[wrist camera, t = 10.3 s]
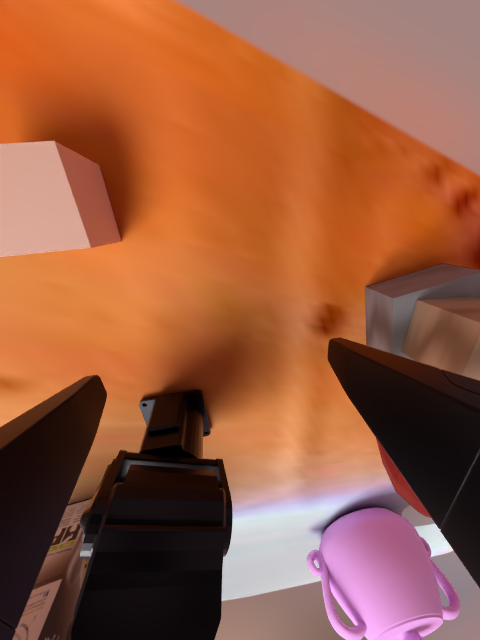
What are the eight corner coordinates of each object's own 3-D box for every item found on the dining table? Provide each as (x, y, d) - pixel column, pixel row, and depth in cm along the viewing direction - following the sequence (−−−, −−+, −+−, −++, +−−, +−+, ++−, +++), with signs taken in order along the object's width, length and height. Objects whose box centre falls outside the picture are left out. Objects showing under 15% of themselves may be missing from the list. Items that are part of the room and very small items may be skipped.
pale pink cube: (121, 241, 17) (91, 247, 13) (54, 248, 17) (-3, 257, 12) (99, 165, 15) (54, 140, 11) (22, 170, 15) (-59, 147, 10)
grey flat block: (431, 331, 25) (469, 349, 22) (364, 352, 25) (391, 373, 22) (439, 263, 22) (485, 270, 18) (362, 286, 22) (393, 298, 18)
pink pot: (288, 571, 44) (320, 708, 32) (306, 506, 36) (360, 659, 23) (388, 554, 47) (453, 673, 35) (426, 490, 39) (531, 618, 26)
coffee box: (46, 510, 28) (-127, 820, 14) (96, 495, 28) (-23, 787, 14) (85, 543, 32) (-19, 814, 17) (128, 530, 32) (62, 788, 18)
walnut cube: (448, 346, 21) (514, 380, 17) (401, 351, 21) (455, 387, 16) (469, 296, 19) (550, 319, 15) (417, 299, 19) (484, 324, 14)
